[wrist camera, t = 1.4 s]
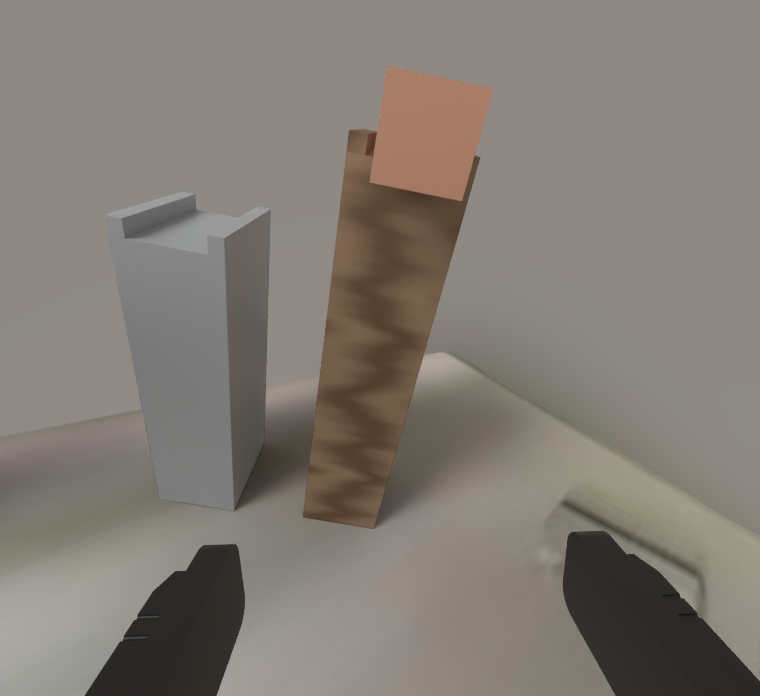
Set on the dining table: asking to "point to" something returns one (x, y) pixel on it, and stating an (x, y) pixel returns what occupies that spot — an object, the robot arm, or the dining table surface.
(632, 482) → the dining table surface
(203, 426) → the cradle
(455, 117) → the stick
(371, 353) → the tower
